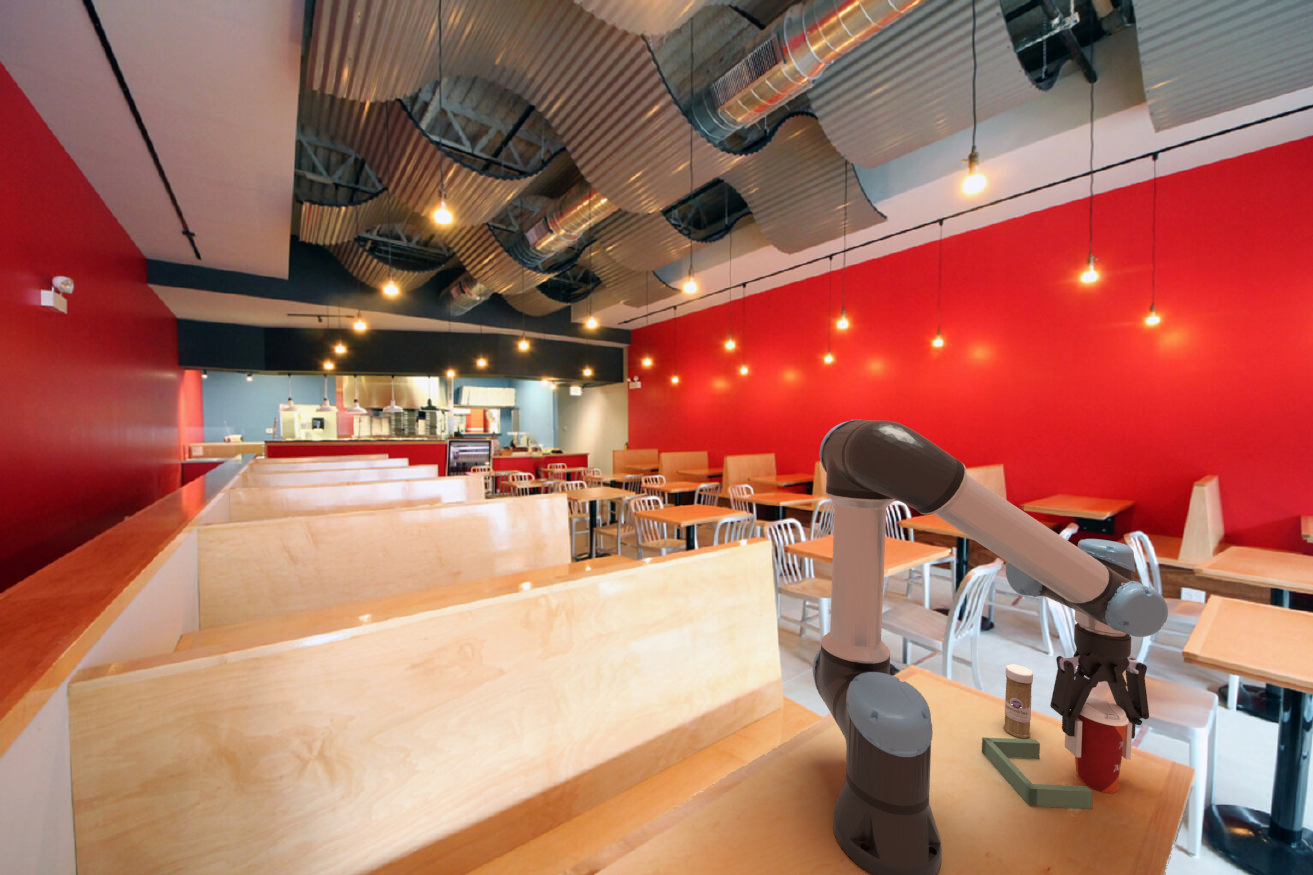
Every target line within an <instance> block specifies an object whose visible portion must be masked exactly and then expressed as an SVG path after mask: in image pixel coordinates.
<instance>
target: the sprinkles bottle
mask: <svg viewBox="0 0 1313 875" xmlns="http://www.w3.org/2000/svg"><path fill="white" fill-rule="evenodd" d="M1005 677H1006V680H1005V696H1004V697H1005V699H1004V724H1003V729H1004V730H1005V731H1006V732H1007V733H1008V734H1010V735H1012V736H1014V737H1017V738H1018V739H1029V738H1030V736H1031V732H1030V731H1031V718H1032V714H1031V713H1032V684H1033V682H1034V673H1033V671H1032V670H1031V669H1029V668H1027V667H1025V666H1023V665H1020V664H1015V663H1014V664H1007V665H1006V667H1005ZM1011 704H1013V705H1011ZM1020 707H1022V708H1020Z"/></svg>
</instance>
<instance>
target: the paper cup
mask: <svg viewBox="0 0 1313 875" xmlns="http://www.w3.org/2000/svg"><path fill="white" fill-rule="evenodd" d="M1078 719H1079V720H1081V721H1082V743H1081V757H1076V756H1074V757H1075V758H1074V760H1075V761H1074V764H1075V776H1076V778H1077V779H1078V780H1079V781H1080V782H1081V783H1082V784H1084V786H1087V787H1088V788H1089V789H1093V790H1096V791H1098V792H1101V793H1106V794H1113V793H1116V792H1117V791H1118V787H1119V782H1120V775H1121V766H1122V758H1123V757H1122V752H1123V744H1124V736H1125V728H1126V725H1127V724H1128V723H1129V720H1128V718H1127V717H1126V713H1125V712H1124V710H1123V709H1122V708H1121V707H1119V706H1118V705H1116V703H1114V702H1111V701H1109V700H1107V699H1104V698H1101V697H1096V696H1093V695H1089V696H1088V698H1087V700H1086V702H1085V704H1084V706H1083V708H1082V710H1081V712H1080V714H1079V716H1078Z"/></svg>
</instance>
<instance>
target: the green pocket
mask: <svg viewBox="0 0 1313 875" xmlns="http://www.w3.org/2000/svg"><path fill="white" fill-rule="evenodd" d="M981 741H982V742H981V753H982V754H983V755H984V757H985V758H986V759H987V760H988V762H990V763H991V764H992V765H993V767H994V768H995V769H996V771H998V773H999V774H1000V775H1001V776H1002V778H1004V779H1005V781H1007V782H1008V784H1009V785H1010V786H1011V787H1012V788H1013V790H1014V791H1015V792H1017V794H1018V795H1019V797H1021V799H1022V800H1023V801H1024V802H1025V803H1026V804H1027V805H1028V806H1029V807H1041V808H1042V807H1043V808H1060V809H1061V808H1063V809H1064V808H1065V809H1083V810H1084V809H1085V810H1092V809H1093V806H1092V805H1093V791H1092V789H1091V788H1090V787H1089V786H1087V785H1071V784H1069V785H1068V784H1063V785H1062V784H1048V783H1047V784H1046V783H1043V784H1041V783H1032V782H1031V781H1030V780H1029V778H1028V777H1027V776H1026V775H1025V774H1024V773H1023V772H1022V771H1021V770H1020V769H1019V768H1018V767H1017V766H1016V765H1015V764H1014V762H1013V761H1011V760H1010V758H1013V759H1033V760H1034V759H1035V760H1036V759H1037V760H1039V759H1040V757H1041V755H1040V754H1041V743H1040V742H1039V741H1038V740H1037V739H1034V738H1033V739H1032V738H1030V739H1029V738H1007V737H984V736H983V737H981Z"/></svg>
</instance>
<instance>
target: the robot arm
mask: <svg viewBox="0 0 1313 875" xmlns="http://www.w3.org/2000/svg"><path fill="white" fill-rule="evenodd" d="M819 460H820V463H821V465H822V468H823V470H824V472H825V473H826V483H825V495H826V496H827V497H828V498H829V499H830V500H831V501H832V502H833V504H834V505H833V506H834V507H833V508H834V510H833V533H832V534H833V537H832V538H833V539H832V562H831V563H832V564H831V565H832V567H831V568H832V569H831V592H830V593H831V594H830V595H831V596H830V598H831V599H830V600H831V601H830V622H829V623H830V624H829V625H830V626H829V627H830V628H829V632H827V633H826V634H824V635H823V636H822V637H821V641H820V649H819V650H818V651H817V652H816V654H815V655H814V659H813V662H812V676H813V681H814V684H815V689H816V690H817V692H818V695H819V696H820V698H821V699H822V701H823V702H824V704H825V706H826V707H827V709H828V711H829V712H830V714H831V715H832V717H833V719H834V721H835V723H836V724H837V726H838V728H839V730H840V732H841V733H842V736H843V737H844V739H845V745H846V753H845V754H846V755H845V756H846V757H845V773H846V774H845V779H844V782H843V784H842V786H841V788H840V792H839V794H838V795H837V796H838V797H837V799H836V801H835V804H834V807H833V812H832V813H833V816H832V817H833V820H832V823H833V824H832V828H833V833H834V837H835V839H836V841H837V843H838V845H839V846H840V848H841V849H842V850H843V851H844V853H845V854H846V855H847V856H848V857H849V859H851V860H852V861H853V862H854V863H855V864H857V865H858V866H859V867H860V868H862V869H863V870H865V871H866V872H868V873H869V874H872V875H937V874H938V873H939V872H940V869H941V866H942V841H941V840H942V839H941V837H940V833H939V830H938V828H937V827H938V826H937V824H936V820H935V818H934V817H935V816H934V814H933V811H932V808H931V805H930V786H931V785H930V784H931V782H930V781H931V759H932V758H931V754H932V752H931V751H932V749H931V748H932V740H933V733H934V732H933V723H932V716H931V714H932V713H931V709H930V706H929V704H928V702H927V700H926V699H925V697H924V695H922V693H921V692H920V691H919V690H918V689H917V688H916V687H915V686H914V685H911V683H909V682H907V681H905V680H904V681H900V678H899V677H897V676H895V675H892V674H891V673H890V670H891V669H890V668H891V666H890V665H891V650H890V648H889V647H888V646H887V645H886V643H884V642H883V641H882V628H883V626H882V625H883V601H884V600H883V599H884V578H885V577H884V576H885V573H884V572H885V552H886V551H885V549H886V529H887V528H886V526H887V524H886V523H887V508H888V507H889V506H890V505H891V504H892V503H893V502H894V501H899V502H901V503H902V504H904V505H906V506H908V507H910V508H913V510H914V511H917V512H918V513H920V514H922V515H931V514H933V515H935V516H936V517H938V518H939V519H941V520H943V521H944V522H945V523H947V524H949V525H951V526H952V527H953V528H954V529H956V530H958V531H960V532H961V533H962V534H964V535H966V536H967V537H969V538H971V539H972V540H973V541H975V542H977V543H978V544H979V545H981V546H983V547H984V548H986V549H988V550H989V551H990V552H992V553H993V554H995V555H997V556H998V557H999V558H1001V559H1002V560H1004V561H1005V562H1006V563H1005V577H1006V579H1007V582H1008V584H1009V586H1010V587H1011V589H1012V590H1014V592H1016V593H1017V594H1019V595H1020V596H1021V595H1022V596H1027V597H1028V596H1030V597H1033V598H1037V597H1043V598H1044V597H1046V598H1048V599H1050V600H1052V601H1055V602H1056V603H1058V604H1061V605H1063V606H1065V607H1068V608H1069V609H1072V610H1074V621H1075V622H1076V624H1074V632H1073V633H1074V634H1073V636H1074V637H1073V641H1074V645H1075V648H1076V649H1075V653H1074V654H1073V656H1071V657H1066V658H1065V657H1063V656H1062V655H1058V656H1056V666H1057V670H1056V674H1055V675H1056V676H1055V680H1054V686H1053V689H1052V696H1051V700H1050V708H1051V709H1052V710H1053V711H1055V712H1056V713H1057V714H1059V715H1060V716H1061V730H1062V732H1063V733H1064V735H1065V736H1064V748H1065V749H1066V750H1068V751H1069V752H1070V753H1071V754H1072V755H1073V756H1074V757H1075V756H1076V757H1081V743H1082V721H1081V720H1079V719H1078V716H1079V714H1080V712H1081V710H1082V708H1083V706H1084V704H1085V702H1086V700H1087V698H1088V696H1090V693H1091V692H1092V690H1093V689H1094V688H1097V686H1098V684H1099V683H1103V682H1106V683H1107V684H1108V687H1109V690H1110V692H1111V694H1112V697H1113V700H1114V702H1115V704H1116V705H1118V706H1119V707H1121V708H1122V709H1123V710H1124V712H1125V713H1126V717H1127V718H1128V720H1129V723H1128V724H1127V725H1126V728H1125V736H1124V744H1123V752H1122V758H1123V759H1125V760H1131V759H1132V758H1131V756H1132V740H1133V739H1135V737H1136V725H1137V726H1141V725H1142V724H1143V720H1148V719H1149V718H1150V712H1149V704H1148V703H1149V702H1148V695H1147V694H1148V693H1147V686H1146V685H1147V684H1146V674H1147V669H1148V666H1147V665H1146V664H1144V663H1142V662H1141V661H1139V660H1137V659H1136V658H1134V657H1131V654H1132V653H1131V652H1132V637H1136V638H1143V637H1144V638H1145V637H1149V636H1152V635H1154V634H1157V633H1159V631H1160V630H1162V627H1163V626H1164V624H1165V623H1166V622H1167V620H1168V616H1169V608H1168V603H1167V601H1166V600H1165V598H1164V596H1163V595H1162V594H1161V593H1159V592H1158V591H1157V590H1156V589H1154V588H1152V587H1148V586H1146V585H1145V584H1144V583H1143V582H1139V581H1135V574H1136V572H1137V571H1136V566H1135V552H1134V549H1133V548H1131V547H1130V546H1129V545H1127V544H1124V543H1122V542H1119V541H1112V540H1106V539H1101V538H1100V539H1098V538H1085V539H1080V540H1079V541H1078V544H1077V546H1076V545H1075V544H1073V543H1072V542H1070V541H1069V540H1067V539H1066V538H1064V537H1063V536H1061V535H1060V534H1058V533H1057V532H1056V531H1054V530H1053V529H1051V528H1049V527H1048V526H1046V525H1045V524H1043V523H1042V522H1040V521H1038V520H1037V519H1035V518H1034V517H1033V516H1031V515H1029V514H1028V513H1027V512H1025V511H1023V510H1022V509H1020V507H1017V506H1016V505H1014V504H1013V503H1011V502H1010V501H1009V500H1006V498H1004V497H1002V496H1001V495H999V494H998V493H996V492H995V491H993V490H992V489H990V488H989V487H987V486H986V485H985V484H982V483H981V482H979V481H978V480H976V479H975V478H973V477H972V476H970V475H968V474H967V468H966V466H965V464H964V463H963V462H962V461H960V460H959V459H957V458H956V457H954V456H952V455H951V454H950V453H949V452H947V451H945V450H944V449H942V448H941V447H939V446H938V445H937V444H935V443H934V442H932V441H931V440H929V439H928V438H927V437H925V436H923V435H922V434H920V433H918V432H917V431H915V430H914V429H912V428H910V427H908V426H906V425H904V424H902V423H900V422H896V421H892V420H884V419H883V420H881V419H880V420H878V419H877V420H871V419H861V418H859V419H850V420H848V421H845V422H840V423H839V424H837V425H835V426H834V427H832V428H831V429H830V430H829V431H828V432H827V433H826V434H825V436H824V437H823V439H822V441H821V444H820V447H819ZM1129 657H1130V658H1129ZM1124 672H1125V677H1124ZM1125 678H1126V679H1125ZM1142 719H1143V720H1142Z"/></svg>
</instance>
